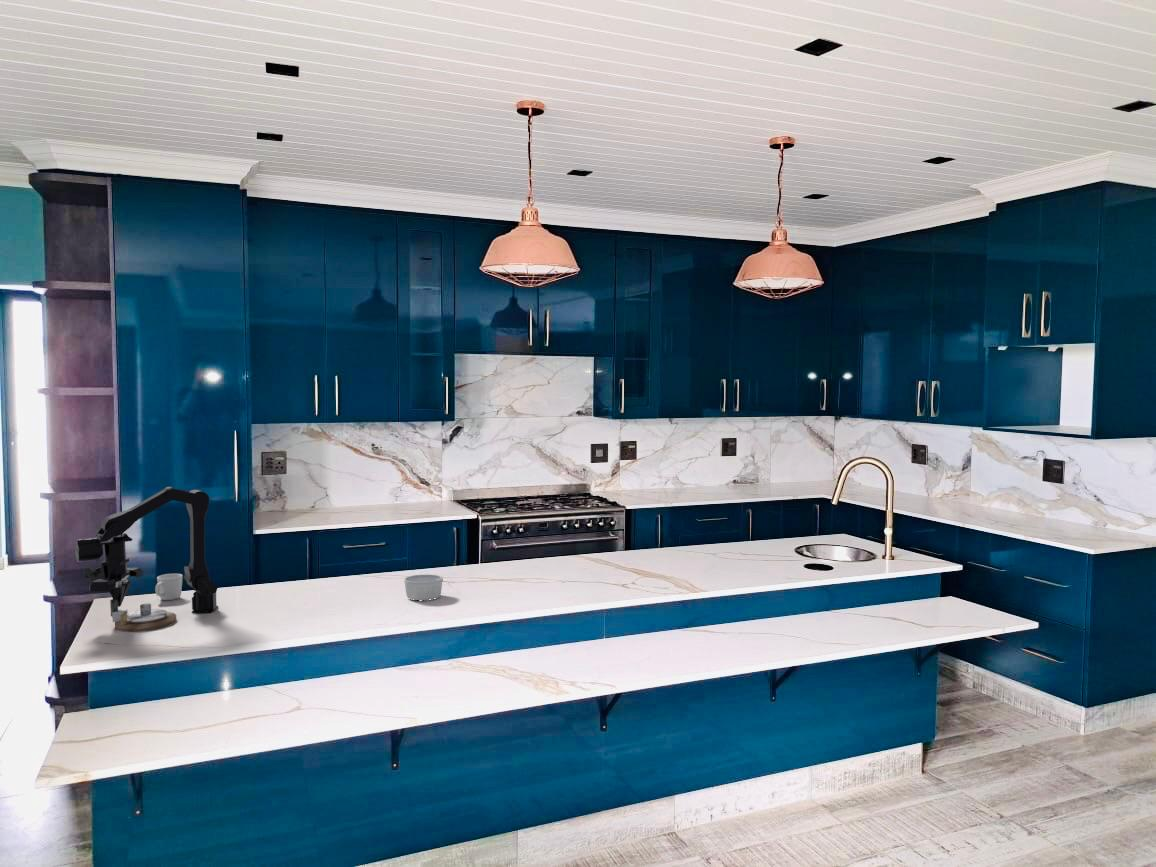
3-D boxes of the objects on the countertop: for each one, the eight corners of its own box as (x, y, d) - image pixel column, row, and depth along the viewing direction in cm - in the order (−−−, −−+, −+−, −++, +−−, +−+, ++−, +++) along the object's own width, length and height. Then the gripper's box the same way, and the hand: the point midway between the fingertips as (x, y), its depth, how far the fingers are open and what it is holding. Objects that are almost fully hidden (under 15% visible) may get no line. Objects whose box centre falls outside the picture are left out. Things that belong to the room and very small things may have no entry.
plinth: (184, 615, 270) (184, 601, 270) (163, 630, 253) (163, 615, 253) (129, 616, 269) (129, 603, 268) (104, 632, 252) (104, 617, 251)
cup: (167, 604, 284) (166, 581, 284) (146, 603, 286) (145, 579, 285) (188, 596, 295) (187, 574, 294) (168, 595, 296) (167, 573, 296)
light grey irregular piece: (167, 611, 269) (167, 590, 268) (166, 620, 258) (166, 598, 257) (112, 616, 262) (112, 595, 262) (109, 626, 251) (108, 604, 251)
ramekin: (437, 591, 301) (436, 572, 301) (447, 600, 289) (447, 580, 289) (400, 595, 295) (400, 576, 295) (409, 604, 283) (409, 584, 283)
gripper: (108, 550, 268) (111, 598, 269) (70, 564, 250) (73, 615, 251) (142, 550, 268) (145, 598, 269) (106, 564, 249) (110, 615, 250)
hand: (118, 606), depth 260 cm, fingers closed
